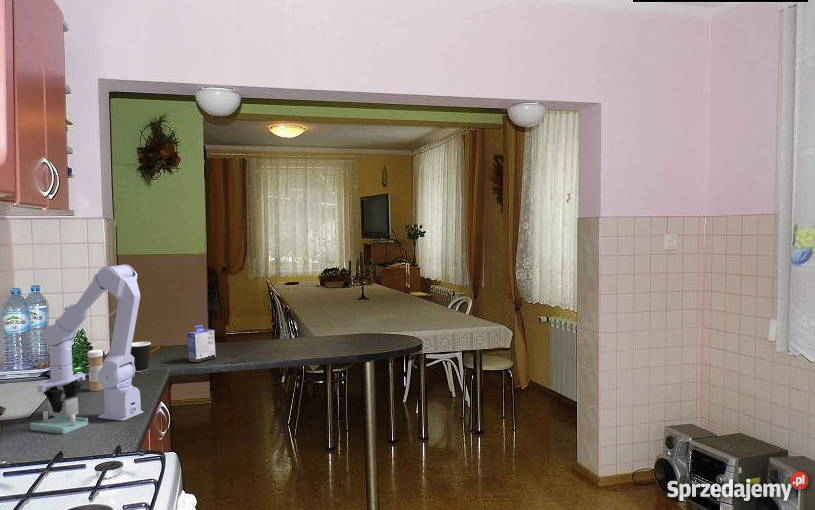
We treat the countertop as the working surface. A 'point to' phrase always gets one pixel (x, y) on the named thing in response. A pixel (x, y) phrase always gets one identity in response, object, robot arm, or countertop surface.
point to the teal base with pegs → (59, 423)
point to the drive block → (66, 406)
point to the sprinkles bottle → (95, 369)
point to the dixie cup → (140, 355)
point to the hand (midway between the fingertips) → (63, 409)
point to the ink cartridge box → (201, 343)
